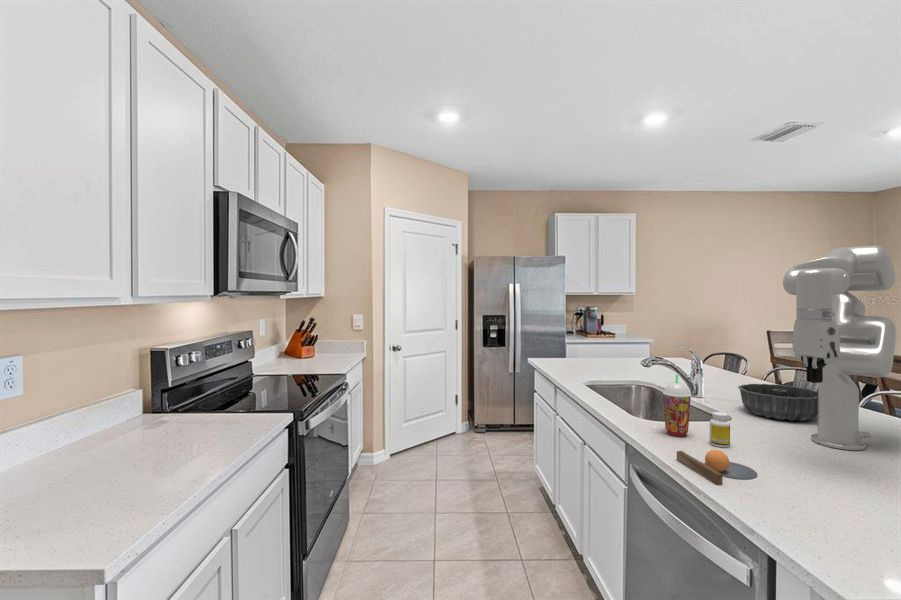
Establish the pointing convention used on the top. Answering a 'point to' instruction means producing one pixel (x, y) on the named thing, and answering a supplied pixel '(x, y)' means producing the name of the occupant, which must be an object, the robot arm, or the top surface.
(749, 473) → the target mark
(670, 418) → the smoothie
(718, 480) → the rail
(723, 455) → the ball
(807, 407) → the bundt pan
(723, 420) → the supplement bottle
